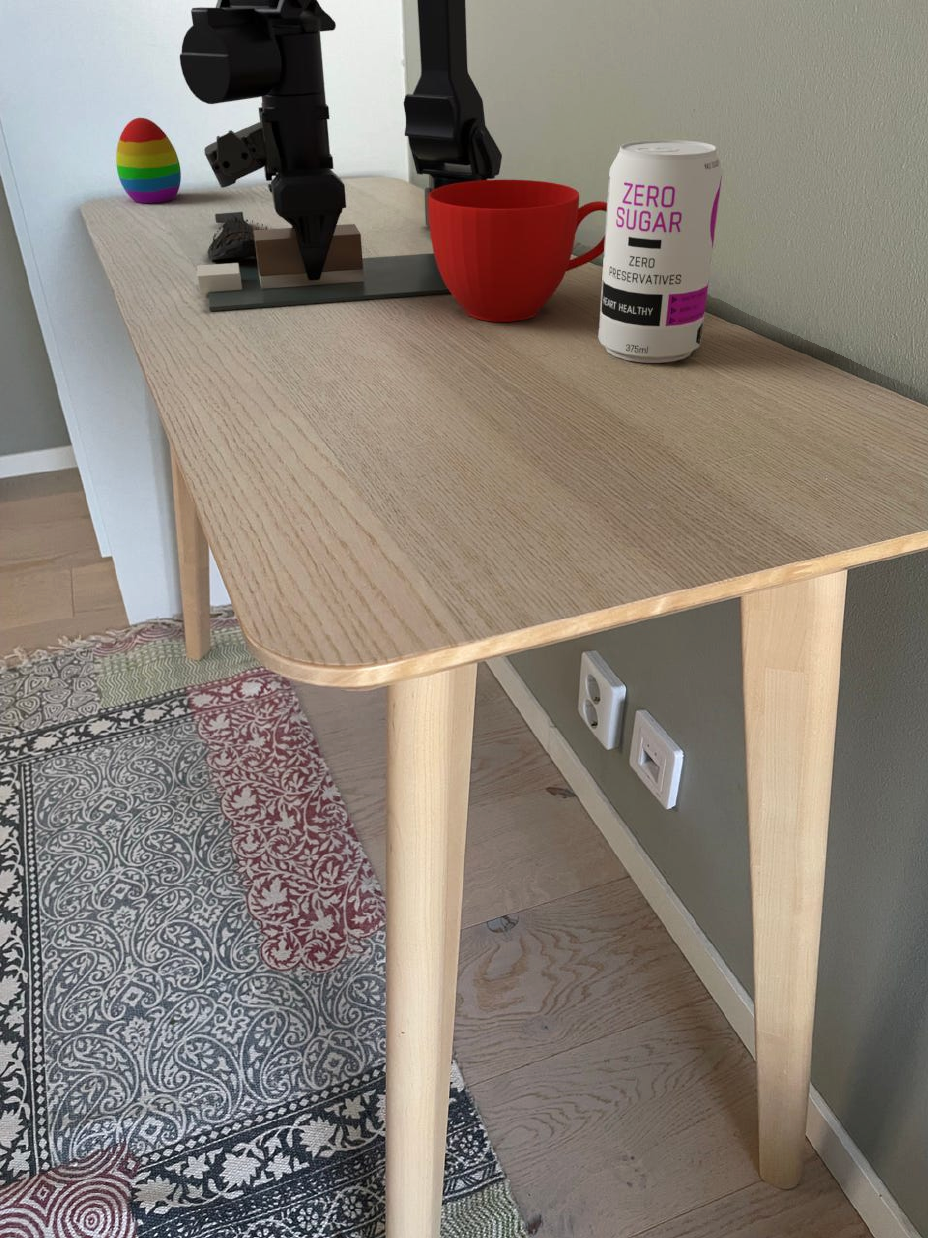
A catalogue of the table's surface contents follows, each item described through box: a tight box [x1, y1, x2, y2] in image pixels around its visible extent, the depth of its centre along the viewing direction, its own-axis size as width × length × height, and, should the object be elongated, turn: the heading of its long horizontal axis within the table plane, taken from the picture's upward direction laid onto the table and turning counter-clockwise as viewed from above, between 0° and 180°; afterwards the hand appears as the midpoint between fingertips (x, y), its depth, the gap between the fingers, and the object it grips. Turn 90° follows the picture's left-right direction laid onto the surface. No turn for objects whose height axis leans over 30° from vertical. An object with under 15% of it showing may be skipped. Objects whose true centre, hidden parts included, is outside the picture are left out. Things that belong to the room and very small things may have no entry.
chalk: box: [196, 262, 242, 294], centre depth 95 cm, size 4×4×2 cm
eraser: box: [253, 223, 364, 289], centre depth 96 cm, size 10×4×4 cm, turn 103°
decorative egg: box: [115, 117, 182, 204], centre depth 130 cm, size 8×8×10 cm
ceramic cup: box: [428, 179, 607, 323], centre depth 86 cm, size 13×17×10 cm
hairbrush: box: [207, 211, 268, 261], centre depth 110 cm, size 8×4×25 cm
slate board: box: [208, 252, 451, 312], centre depth 97 cm, size 24×14×1 cm, turn 103°
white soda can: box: [597, 139, 724, 364], centre depth 75 cm, size 8×8×15 cm
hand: (310, 270), depth 96 cm, fingers open, 7 cm apart
